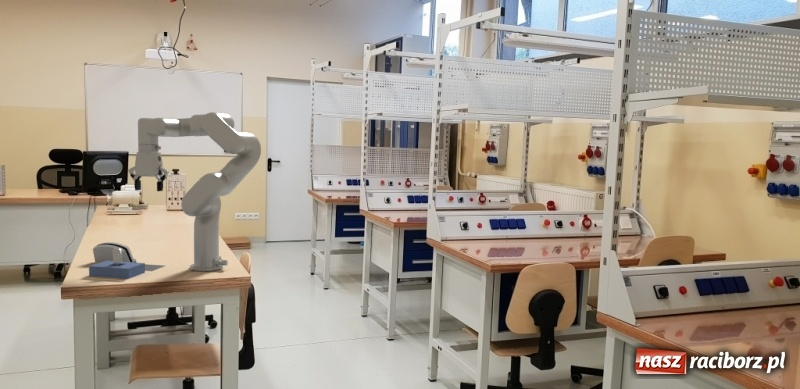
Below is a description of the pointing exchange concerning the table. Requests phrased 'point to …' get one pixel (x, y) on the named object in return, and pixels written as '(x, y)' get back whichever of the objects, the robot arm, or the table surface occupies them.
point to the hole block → (117, 270)
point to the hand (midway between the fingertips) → (148, 190)
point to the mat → (152, 267)
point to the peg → (117, 257)
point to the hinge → (111, 252)
